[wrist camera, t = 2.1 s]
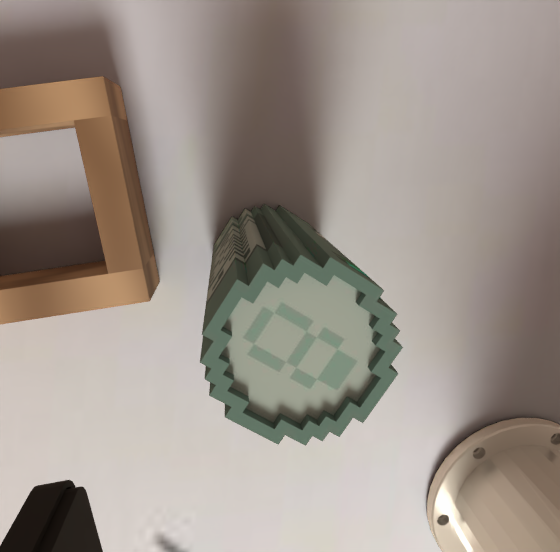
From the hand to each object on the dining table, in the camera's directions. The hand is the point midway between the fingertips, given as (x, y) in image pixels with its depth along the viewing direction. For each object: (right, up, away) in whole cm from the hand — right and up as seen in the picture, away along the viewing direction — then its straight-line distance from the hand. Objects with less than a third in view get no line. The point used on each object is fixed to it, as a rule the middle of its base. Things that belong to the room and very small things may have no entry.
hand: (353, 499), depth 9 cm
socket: (-15, +8, +19) cm, 25 cm away
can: (-2, +5, +21) cm, 22 cm away
